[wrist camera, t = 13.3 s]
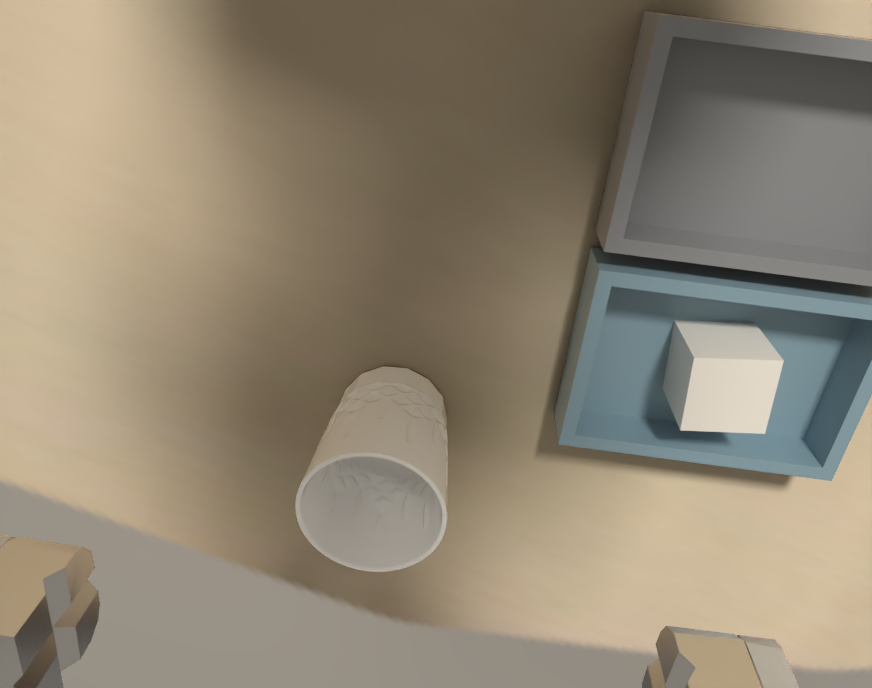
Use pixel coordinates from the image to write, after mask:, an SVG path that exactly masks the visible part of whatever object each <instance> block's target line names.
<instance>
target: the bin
mask: <svg viewBox="0 0 872 688" xmlns="http://www.w3.org/2000/svg"><path fill="white" fill-rule="evenodd" d="M674 320H684V321H716V322H748V323H756V325H757V326H758V327H759V329H760V330H761V331H762V333H763V334H764V335H765V337H766V338H767V339H768V340H769V342H770V343H771V344H772V346H773V347H774V348H775V350H776V351H777V352H778V354H779V355H780V356H781V358H782V359H783V360H784V362H783V366H782V370H781V374H780V378H779V381H778V385H777V389H776V393H775V397H774V401H773V405H772V409H771V413H770V416H769V420H768V424H767V428H766V432H765V434H756V433H731V432H706V431H681V430H680V429H679V426H678V424H677V422H676V419H675V417H674V414H673V412H672V410H671V407H670V405H669V402H668V400H667V398H666V395H665V393H664V390H663V383H664V377H665V371H666V365H667V359H668V354H669V348H670V342H671V336H672V330H673V325H674ZM871 395H872V286H864V285H856V284H848V283H841V282H833V281H825V280H818V279H810V278H802V277H795V276H787V275H779V274H772V273H764V272H756V271H749V270H741V269H733V268H725V267H718V266H710V265H702V264H695V263H687V262H679V261H672V260H664V259H656V258H649V257H641V256H633V255H625V254H618V253H610V252H604V251H603V249H602V248H595V247H591V249H590V254H589V258H588V263H587V267H586V271H585V276H584V280H583V285H582V289H581V294H580V298H579V303H578V307H577V311H576V316H575V320H574V325H573V329H572V334H571V338H570V343H569V347H568V351H567V356H566V360H565V365H564V369H563V374H562V378H561V383H560V387H559V392H558V396H557V400H556V405H555V409H554V417H555V424H556V430H557V437H558V444H559V445H565V446H572V447H580V448H587V449H595V450H603V451H610V452H618V453H625V454H633V455H640V456H648V457H655V458H663V459H671V460H678V461H686V462H693V463H701V464H708V465H716V466H723V467H731V468H738V469H746V470H754V471H761V472H769V473H776V474H784V475H791V476H799V477H806V478H814V479H822V480H829V481H832V479H833V476H834V474H835V472H836V470H837V468H838V466H839V464H840V461H841V459H842V457H843V455H844V453H845V451H846V448H847V446H848V444H849V442H850V440H851V438H852V436H853V433H854V431H855V429H856V427H857V425H858V423H859V421H860V418H861V416H862V414H863V412H864V410H865V408H866V405H867V403H868V401H869V399H870V397H871Z"/></svg>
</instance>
